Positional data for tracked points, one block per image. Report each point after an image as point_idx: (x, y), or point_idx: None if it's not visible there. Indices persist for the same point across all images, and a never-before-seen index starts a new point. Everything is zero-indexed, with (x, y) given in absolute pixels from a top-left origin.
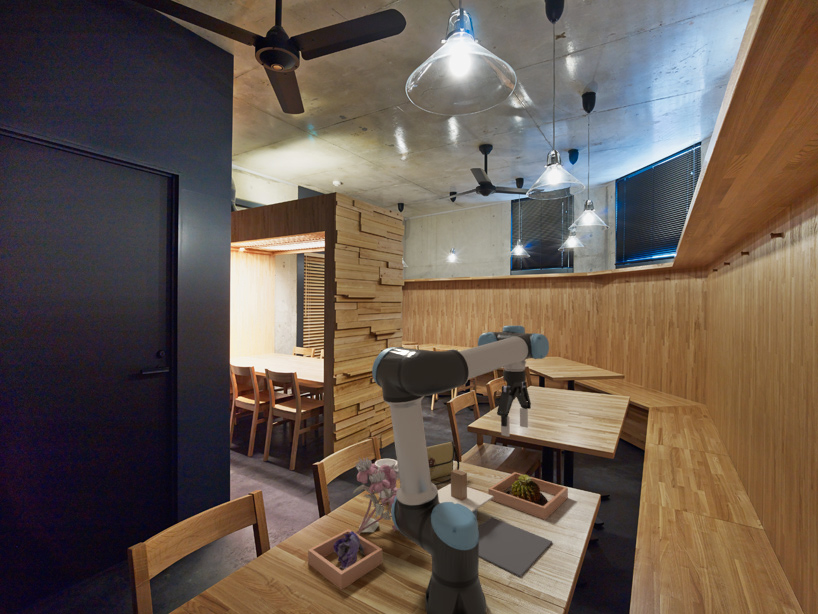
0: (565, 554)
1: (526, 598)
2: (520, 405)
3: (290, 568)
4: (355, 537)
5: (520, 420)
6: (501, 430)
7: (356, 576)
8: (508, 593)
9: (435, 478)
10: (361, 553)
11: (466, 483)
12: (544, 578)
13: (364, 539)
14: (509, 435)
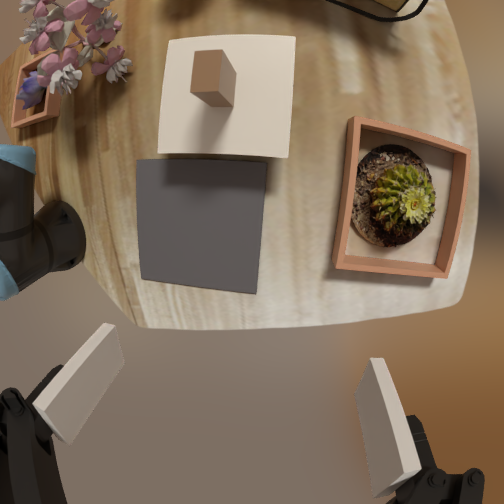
0: (237, 315)
1: (119, 293)
2: (412, 495)
3: None
4: (25, 92)
5: (379, 391)
6: (89, 340)
7: (31, 123)
8: (111, 274)
9: None
10: None
11: (223, 98)
12: (163, 303)
13: None
14: (121, 365)
